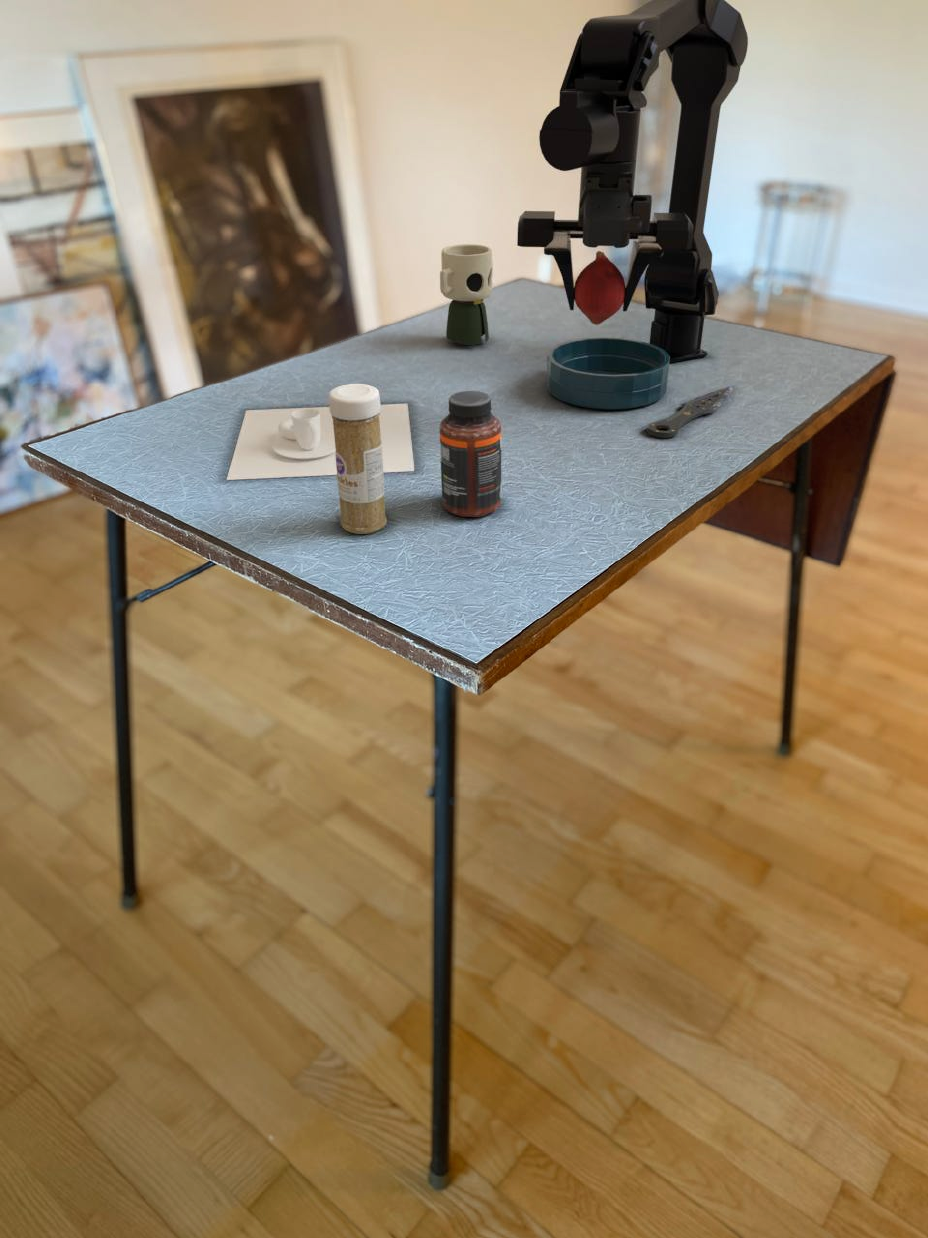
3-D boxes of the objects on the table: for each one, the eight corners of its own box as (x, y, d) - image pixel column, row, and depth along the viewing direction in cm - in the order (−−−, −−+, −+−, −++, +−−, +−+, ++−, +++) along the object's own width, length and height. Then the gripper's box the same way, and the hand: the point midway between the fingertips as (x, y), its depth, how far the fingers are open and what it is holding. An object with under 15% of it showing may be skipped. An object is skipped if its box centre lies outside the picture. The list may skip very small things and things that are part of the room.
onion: (621, 317, 110) (627, 246, 106) (623, 332, 105) (630, 257, 101) (572, 316, 110) (576, 245, 106) (571, 330, 106) (576, 256, 101)
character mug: (461, 356, 132) (460, 260, 125) (424, 346, 136) (421, 252, 129) (509, 337, 139) (511, 245, 132) (473, 328, 143) (472, 239, 135)
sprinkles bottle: (331, 526, 90) (317, 392, 83) (364, 509, 93) (354, 378, 86) (364, 540, 88) (353, 403, 80) (398, 523, 91) (390, 389, 83)
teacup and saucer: (276, 432, 110) (271, 399, 107) (344, 429, 110) (341, 396, 108) (269, 464, 102) (265, 428, 100) (342, 460, 103) (339, 425, 101)
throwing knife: (638, 431, 108) (638, 426, 108) (718, 384, 121) (718, 379, 121) (671, 440, 106) (672, 435, 106) (749, 391, 119) (750, 386, 118)
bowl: (623, 363, 129) (626, 331, 126) (689, 399, 117) (694, 364, 115) (525, 380, 123) (526, 347, 121) (585, 420, 112) (587, 383, 109)
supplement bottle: (510, 499, 95) (512, 391, 88) (486, 524, 90) (487, 412, 84) (457, 488, 97) (455, 382, 90) (431, 513, 92) (427, 403, 86)
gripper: (517, 169, 92) (513, 328, 101) (708, 171, 91) (688, 332, 99) (521, 154, 102) (517, 301, 110) (695, 156, 100) (677, 304, 109)
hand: (597, 309), depth 107 cm, fingers closed on onion, 6 cm apart
